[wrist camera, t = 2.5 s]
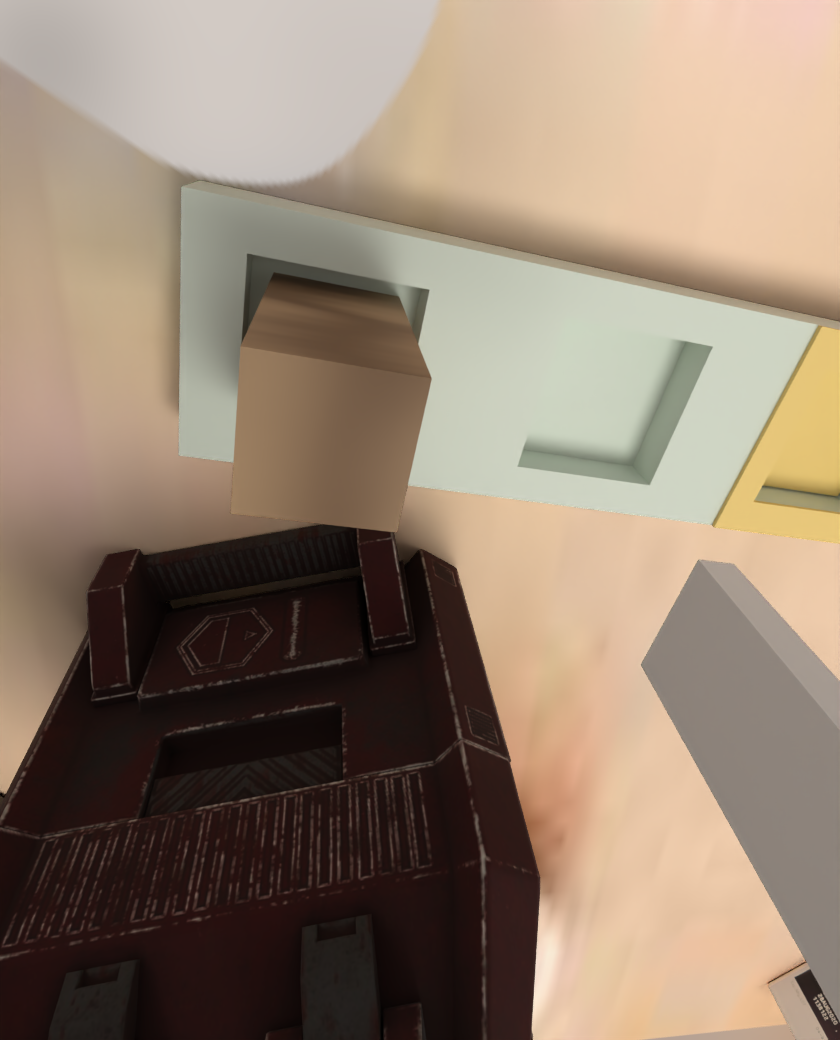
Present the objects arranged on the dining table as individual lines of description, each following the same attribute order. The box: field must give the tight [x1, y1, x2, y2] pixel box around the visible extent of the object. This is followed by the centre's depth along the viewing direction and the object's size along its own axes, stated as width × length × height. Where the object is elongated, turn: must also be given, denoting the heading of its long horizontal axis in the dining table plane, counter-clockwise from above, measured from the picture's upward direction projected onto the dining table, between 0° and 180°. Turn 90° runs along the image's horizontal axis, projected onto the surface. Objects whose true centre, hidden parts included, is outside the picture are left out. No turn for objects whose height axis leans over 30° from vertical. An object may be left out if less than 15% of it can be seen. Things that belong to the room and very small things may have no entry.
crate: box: [0, 524, 540, 1040], centre depth 29 cm, size 35×19×21 cm, turn 8°
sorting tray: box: [179, 180, 840, 544], centre depth 25 cm, size 32×9×3 cm, turn 78°
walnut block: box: [230, 272, 432, 532], centre depth 19 cm, size 4×4×9 cm
